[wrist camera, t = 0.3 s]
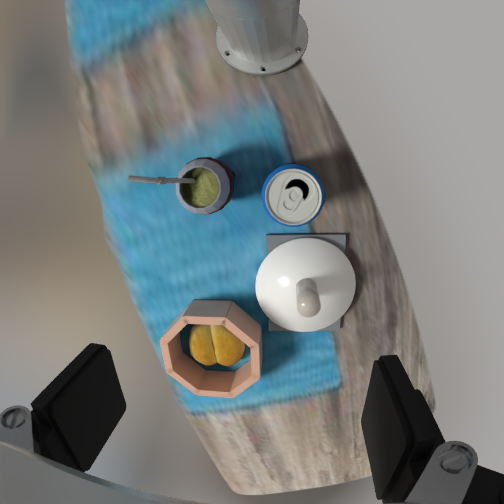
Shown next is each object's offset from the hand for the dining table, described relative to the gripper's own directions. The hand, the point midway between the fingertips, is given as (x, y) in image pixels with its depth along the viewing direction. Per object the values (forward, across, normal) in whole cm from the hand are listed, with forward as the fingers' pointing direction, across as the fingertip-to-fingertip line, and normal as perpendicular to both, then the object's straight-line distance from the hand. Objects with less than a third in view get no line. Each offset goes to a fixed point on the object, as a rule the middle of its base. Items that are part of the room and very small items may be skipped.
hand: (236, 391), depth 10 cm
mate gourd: (+35, +9, -6) cm, 37 cm away
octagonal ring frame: (+36, +9, +20) cm, 42 cm away
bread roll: (+36, +9, +20) cm, 42 cm away
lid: (+35, -4, +9) cm, 36 cm away
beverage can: (+35, -2, -5) cm, 35 cm away
